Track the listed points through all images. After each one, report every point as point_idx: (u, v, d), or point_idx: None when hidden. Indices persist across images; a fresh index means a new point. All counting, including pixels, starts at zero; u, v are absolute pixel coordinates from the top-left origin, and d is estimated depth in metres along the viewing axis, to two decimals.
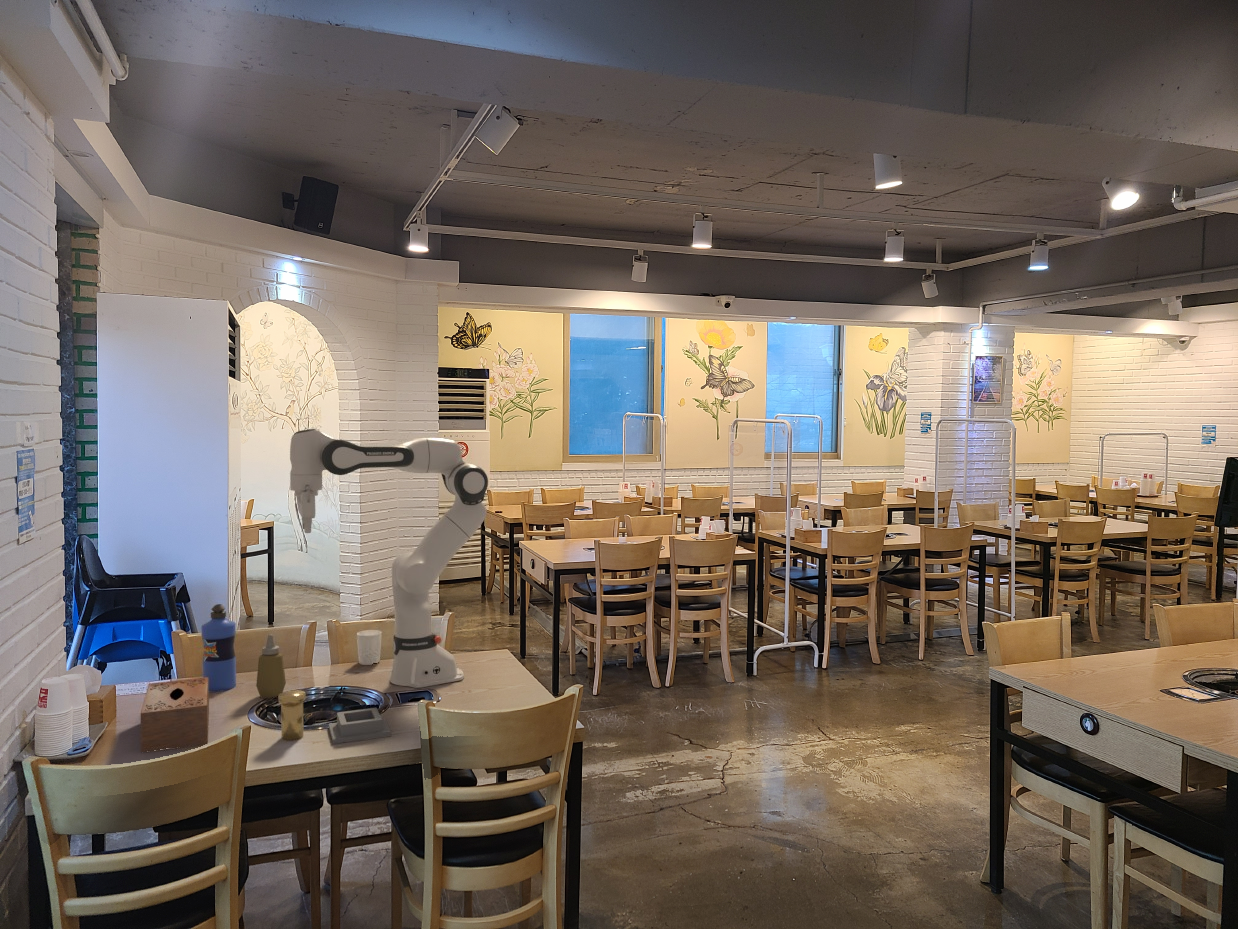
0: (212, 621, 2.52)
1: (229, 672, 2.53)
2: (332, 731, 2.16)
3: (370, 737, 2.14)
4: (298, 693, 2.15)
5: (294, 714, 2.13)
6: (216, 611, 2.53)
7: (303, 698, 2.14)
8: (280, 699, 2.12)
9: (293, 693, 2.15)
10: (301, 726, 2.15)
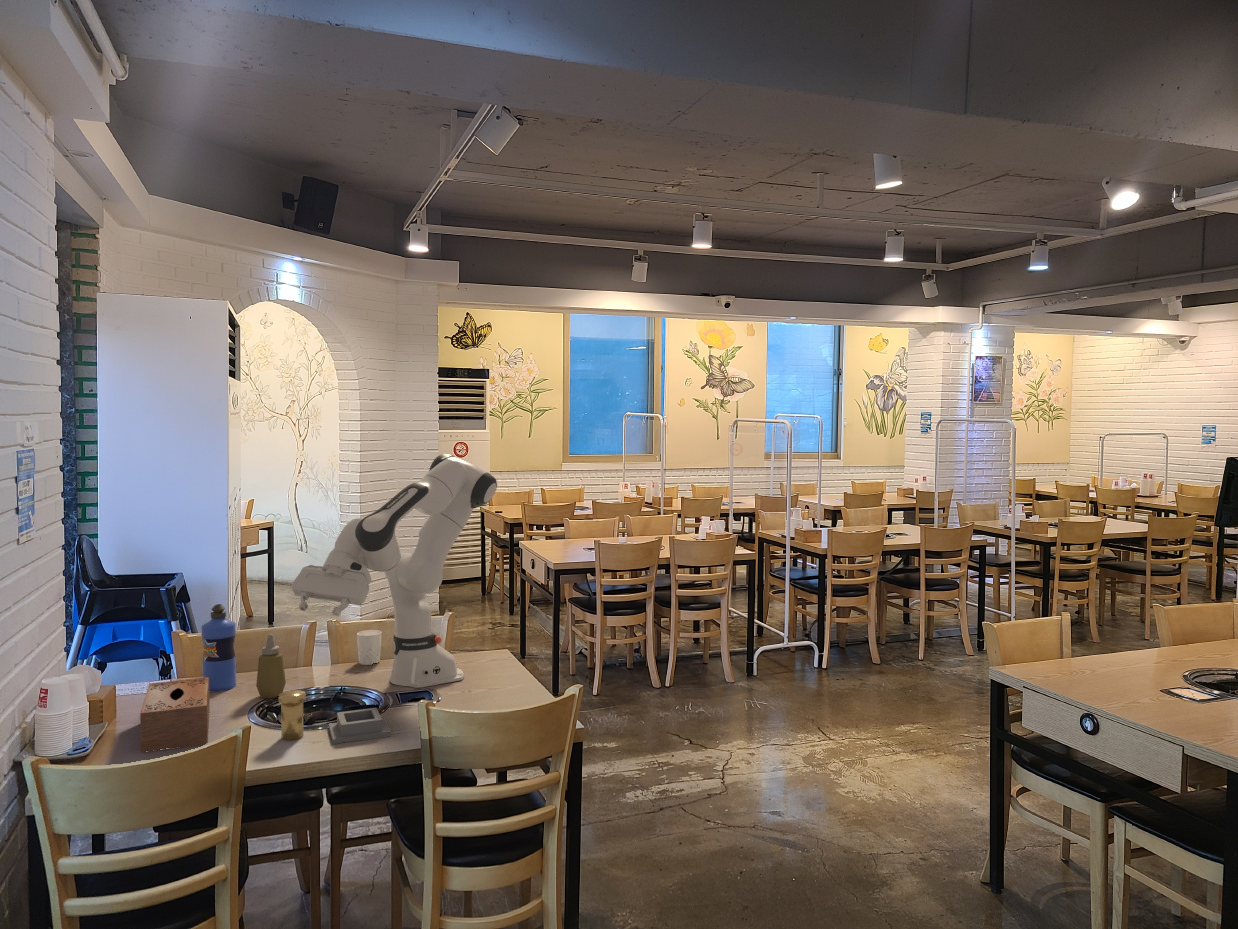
0: (212, 621, 2.52)
1: (229, 672, 2.53)
2: (332, 731, 2.16)
3: (370, 737, 2.14)
4: (298, 693, 2.15)
5: (294, 714, 2.13)
6: (216, 611, 2.53)
7: (303, 698, 2.14)
8: (280, 699, 2.12)
9: (293, 693, 2.15)
10: (301, 726, 2.15)
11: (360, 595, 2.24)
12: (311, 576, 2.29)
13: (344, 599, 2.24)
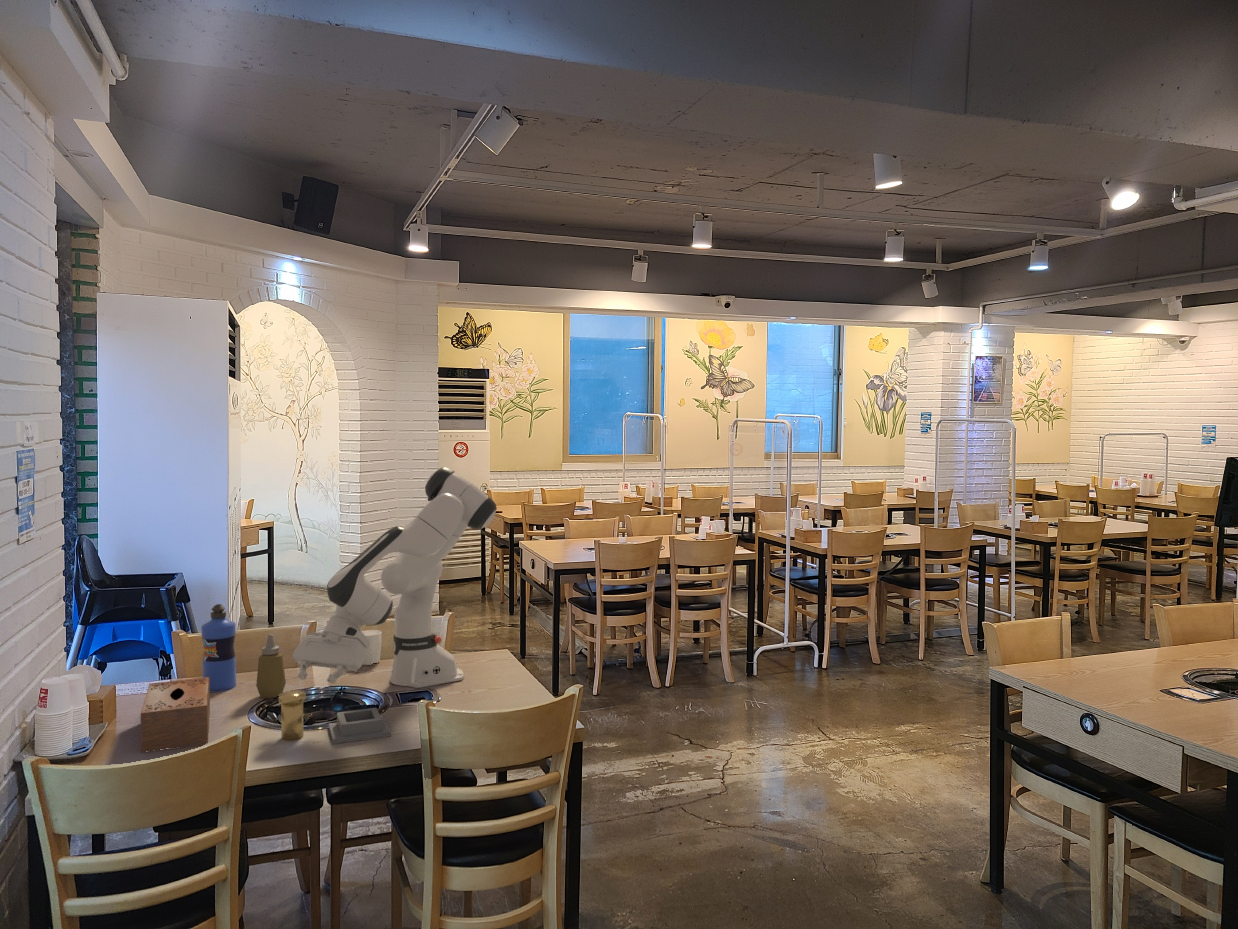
0: (212, 621, 2.52)
1: (229, 672, 2.53)
2: (332, 731, 2.16)
3: (370, 737, 2.14)
4: (298, 693, 2.15)
5: (294, 714, 2.13)
6: (216, 611, 2.53)
7: (303, 698, 2.14)
8: (280, 699, 2.12)
9: (293, 693, 2.15)
10: (301, 726, 2.15)
11: (353, 661, 2.21)
12: (311, 644, 2.28)
13: (339, 666, 2.21)
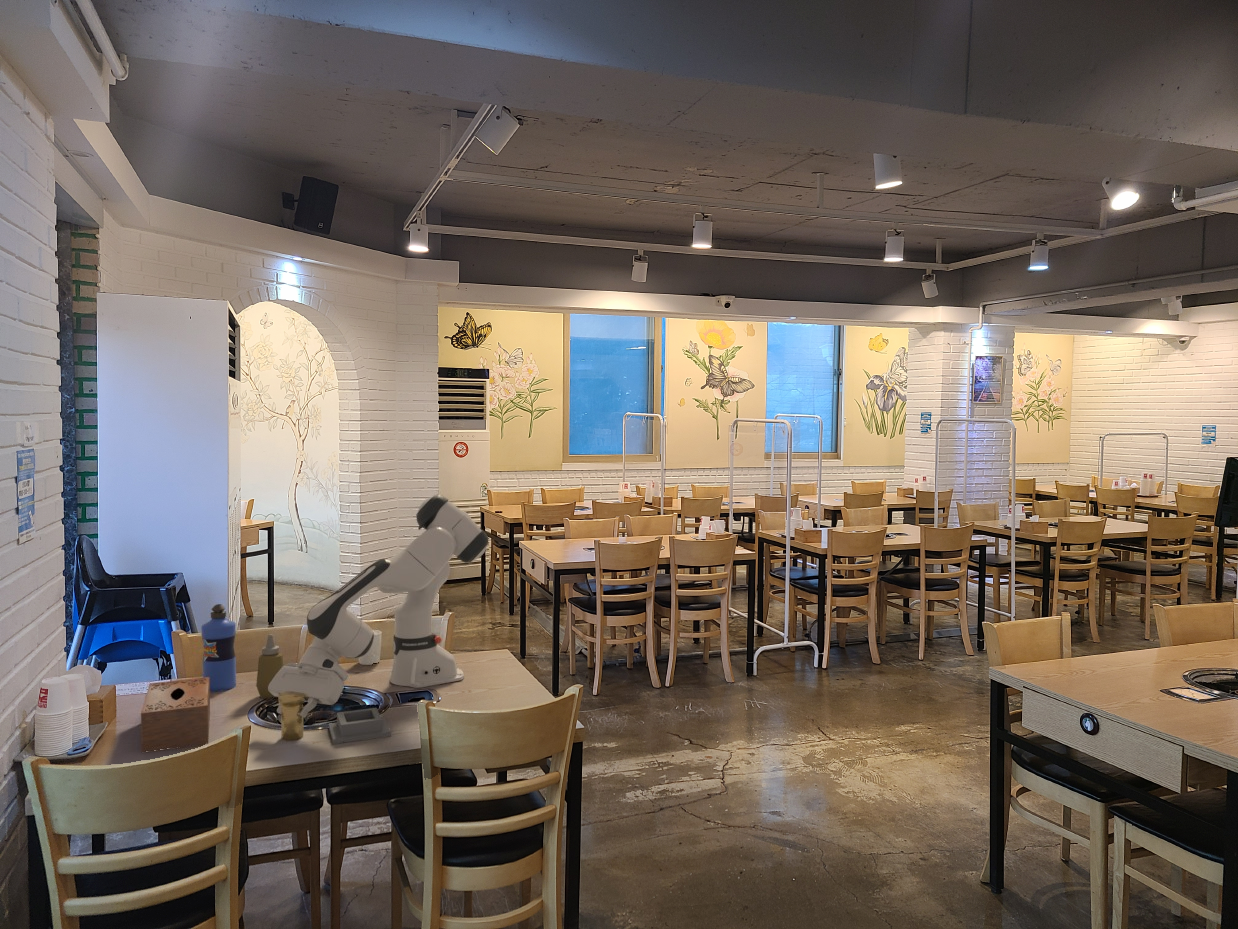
0: (212, 621, 2.52)
1: (229, 672, 2.53)
2: (332, 731, 2.16)
3: (370, 737, 2.14)
4: (297, 693, 2.15)
5: (294, 714, 2.13)
6: (216, 611, 2.53)
7: (303, 698, 2.14)
8: (280, 699, 2.12)
9: (293, 693, 2.15)
10: (301, 726, 2.15)
11: (329, 695, 2.13)
12: (288, 675, 2.21)
13: (310, 699, 2.15)
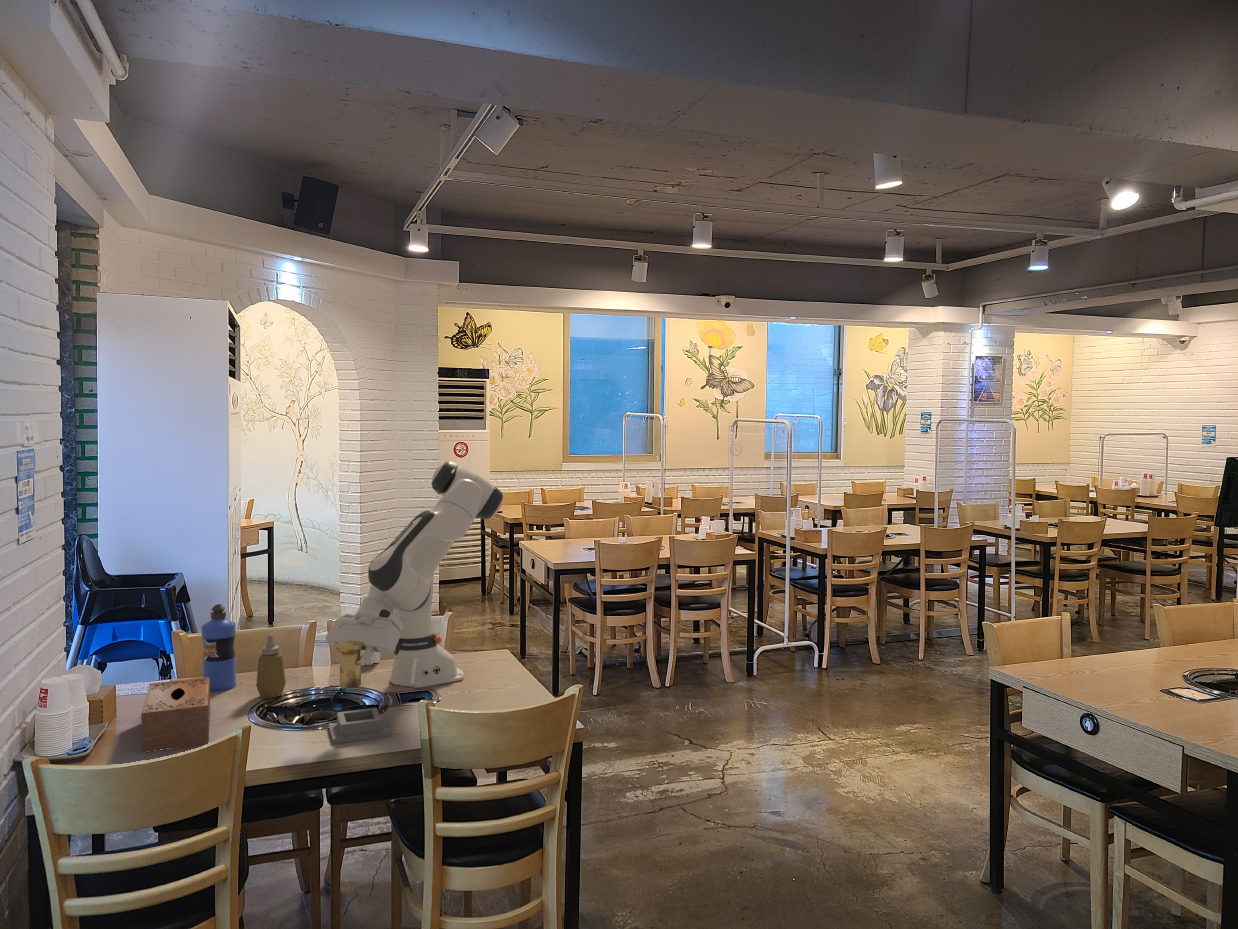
0: (212, 621, 2.52)
1: (229, 672, 2.53)
2: (332, 731, 2.16)
3: (370, 737, 2.14)
4: (355, 642, 2.18)
5: (352, 662, 2.16)
6: (216, 611, 2.53)
7: (361, 646, 2.17)
8: (339, 647, 2.15)
9: (351, 642, 2.18)
10: (359, 674, 2.17)
11: (387, 644, 2.16)
12: (345, 626, 2.24)
13: (368, 648, 2.17)
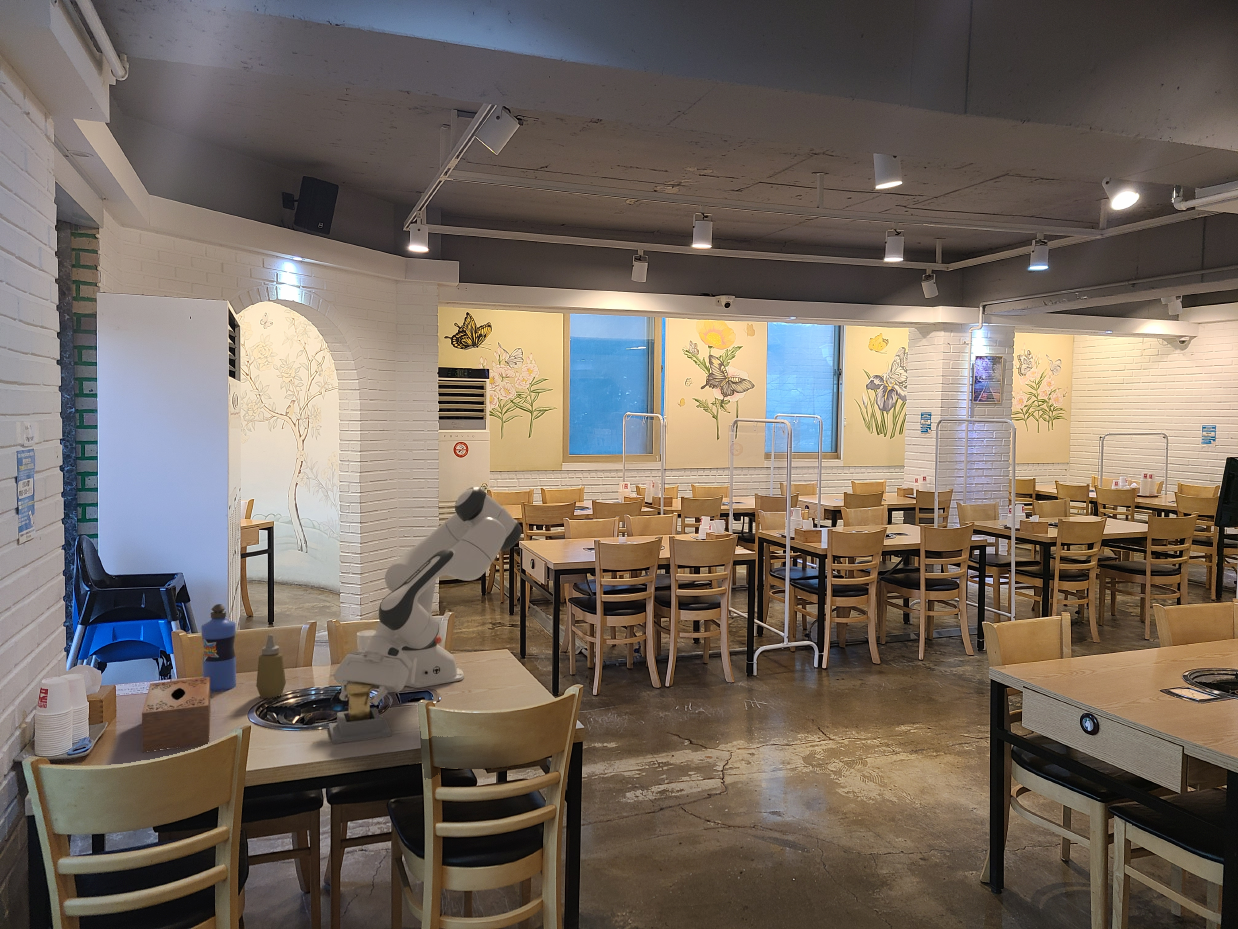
0: (212, 621, 2.52)
1: (229, 672, 2.53)
2: (332, 731, 2.16)
3: (370, 737, 2.14)
4: (365, 684, 2.19)
5: (362, 704, 2.16)
6: (216, 611, 2.53)
7: (370, 689, 2.18)
8: (348, 690, 2.16)
9: (360, 684, 2.19)
10: (368, 717, 2.18)
11: (396, 683, 2.17)
12: (353, 663, 2.25)
13: (381, 687, 2.18)
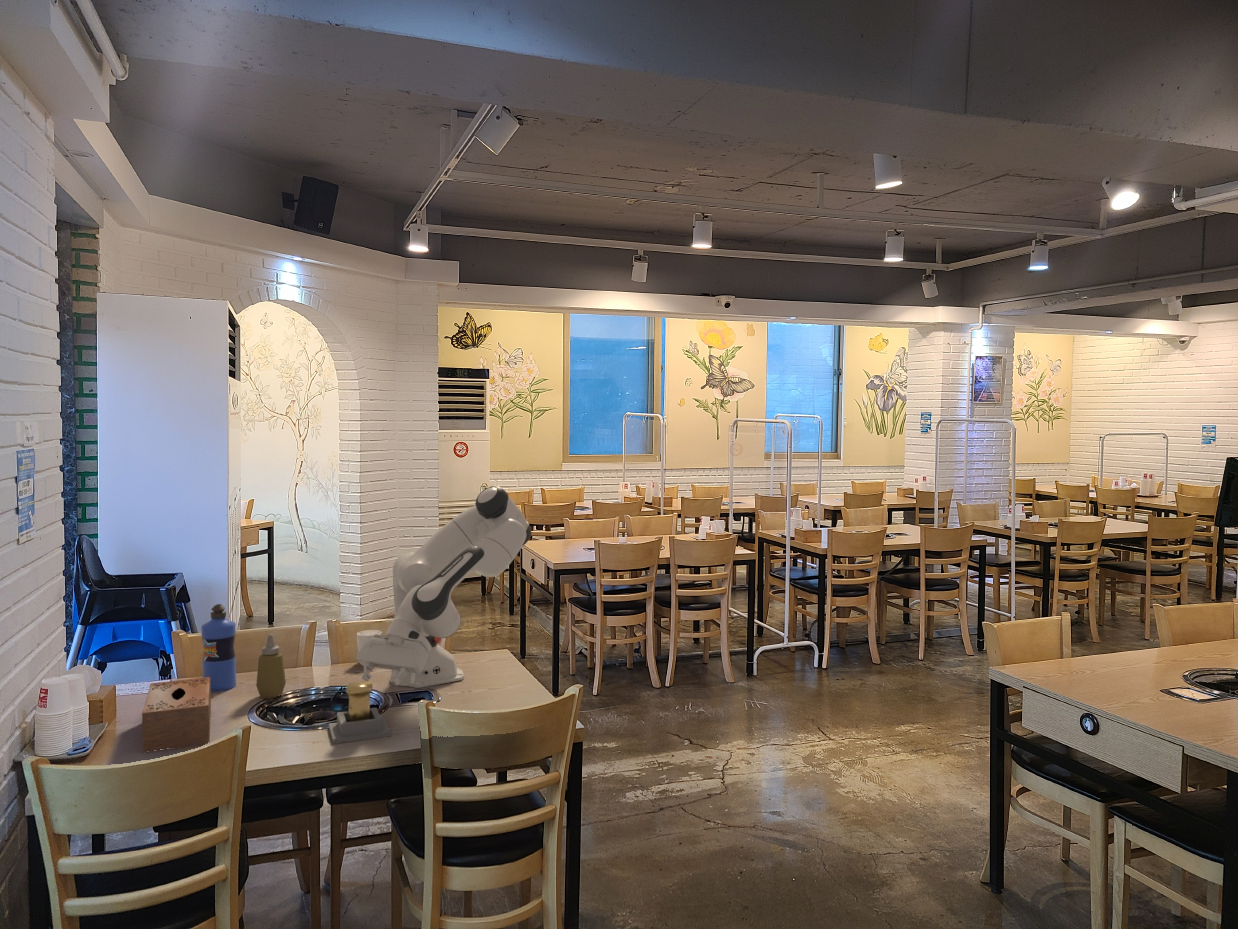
0: (212, 621, 2.52)
1: (229, 672, 2.53)
2: (332, 731, 2.16)
3: (370, 737, 2.14)
4: (365, 684, 2.19)
5: (362, 704, 2.16)
6: (216, 611, 2.53)
7: (370, 689, 2.18)
8: (348, 690, 2.16)
9: (360, 684, 2.19)
10: (368, 717, 2.18)
11: (416, 664, 2.26)
12: (375, 646, 2.34)
13: (402, 669, 2.27)
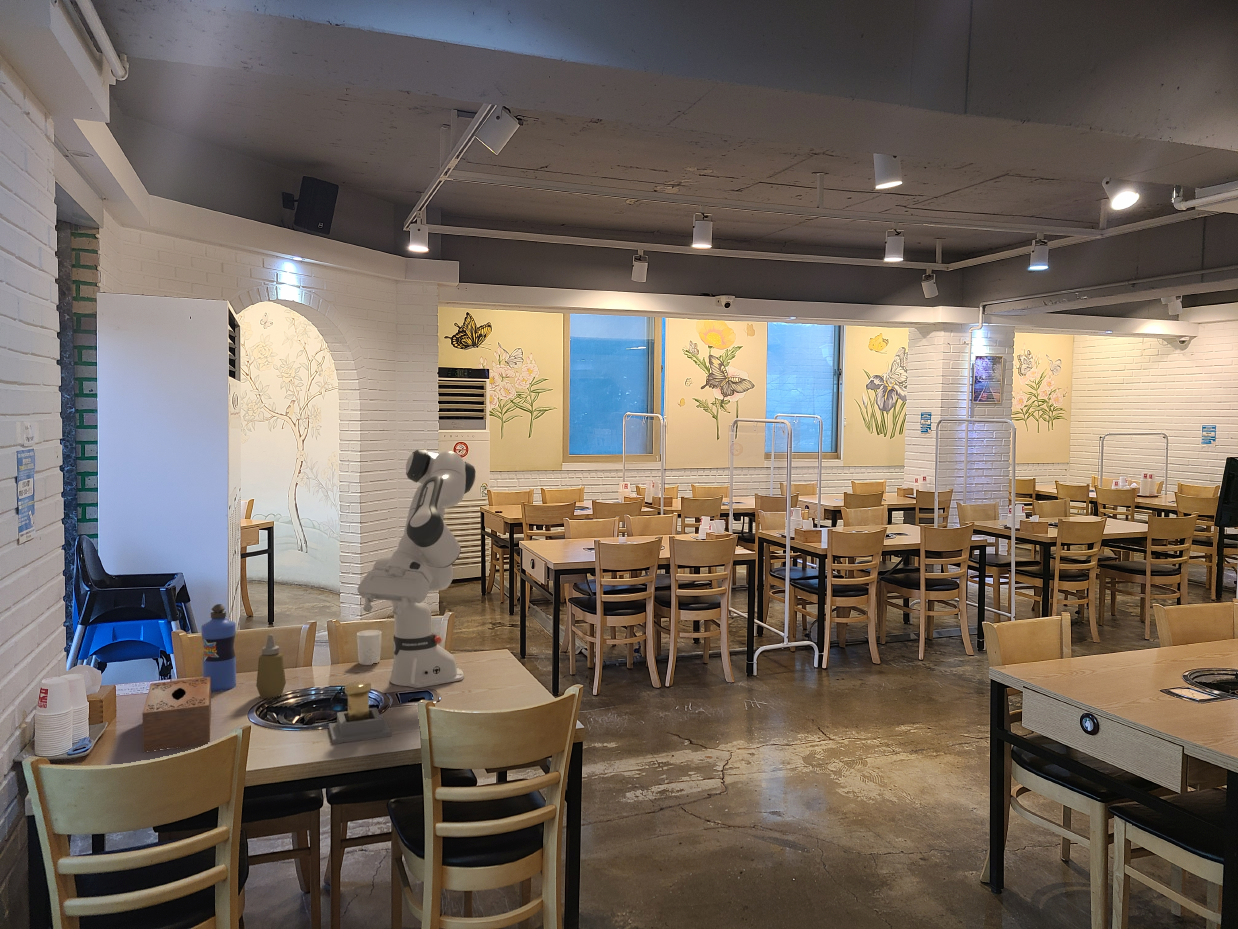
0: (212, 621, 2.52)
1: (229, 672, 2.53)
2: (332, 731, 2.16)
3: (370, 737, 2.14)
4: (363, 684, 2.19)
5: (360, 704, 2.16)
6: (216, 611, 2.53)
7: (369, 689, 2.18)
8: (347, 690, 2.16)
9: (359, 684, 2.19)
10: (367, 716, 2.18)
11: (418, 593, 2.25)
12: (375, 578, 2.33)
13: (404, 598, 2.26)
